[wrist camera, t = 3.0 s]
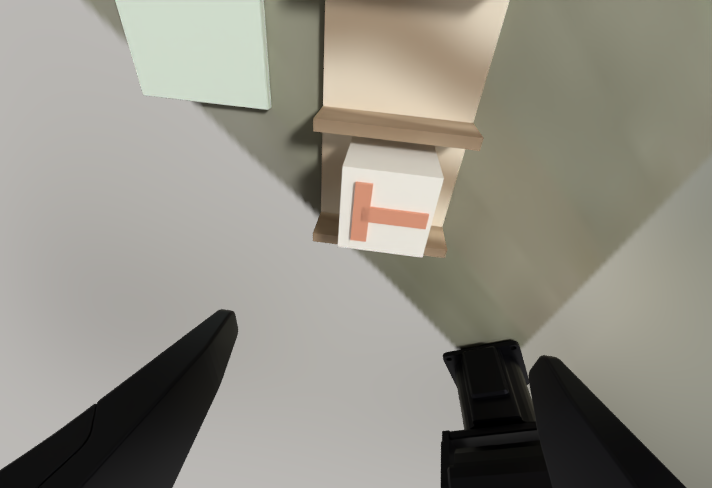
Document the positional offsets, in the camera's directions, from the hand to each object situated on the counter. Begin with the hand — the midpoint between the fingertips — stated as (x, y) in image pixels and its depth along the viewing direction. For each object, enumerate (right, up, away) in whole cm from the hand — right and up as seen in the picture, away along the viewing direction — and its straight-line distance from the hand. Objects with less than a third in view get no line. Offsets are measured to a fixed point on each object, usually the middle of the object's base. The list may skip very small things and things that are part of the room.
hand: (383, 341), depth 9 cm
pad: (-9, +14, +6) cm, 18 cm away
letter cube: (+1, +7, +10) cm, 12 cm away
